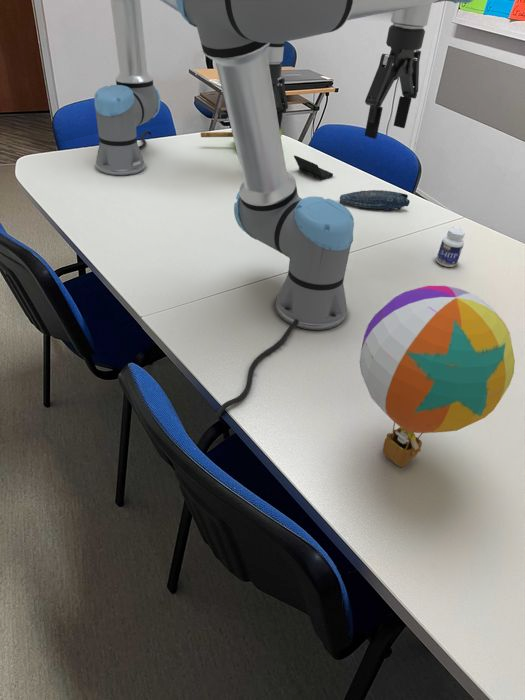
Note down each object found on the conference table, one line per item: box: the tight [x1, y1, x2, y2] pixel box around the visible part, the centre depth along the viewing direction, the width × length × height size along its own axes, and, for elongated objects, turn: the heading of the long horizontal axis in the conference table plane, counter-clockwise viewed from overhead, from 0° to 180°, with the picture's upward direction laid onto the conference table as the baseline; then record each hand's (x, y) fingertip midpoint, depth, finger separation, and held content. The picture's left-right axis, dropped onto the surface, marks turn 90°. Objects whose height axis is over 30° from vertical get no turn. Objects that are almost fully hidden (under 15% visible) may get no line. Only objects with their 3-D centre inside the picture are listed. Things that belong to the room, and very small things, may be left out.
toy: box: [359, 285, 516, 468], centre depth 73 cm, size 20×20×30 cm
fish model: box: [339, 189, 411, 211], centre depth 158 cm, size 7×21×5 cm, turn 84°
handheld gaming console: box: [293, 155, 334, 180], centre depth 176 cm, size 12×7×10 cm
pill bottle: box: [435, 227, 466, 268], centre depth 132 cm, size 5×5×9 cm
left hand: (262, 137), depth 164 cm, fingers open, 13 cm apart
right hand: (385, 131), depth 122 cm, fingers open, 13 cm apart
